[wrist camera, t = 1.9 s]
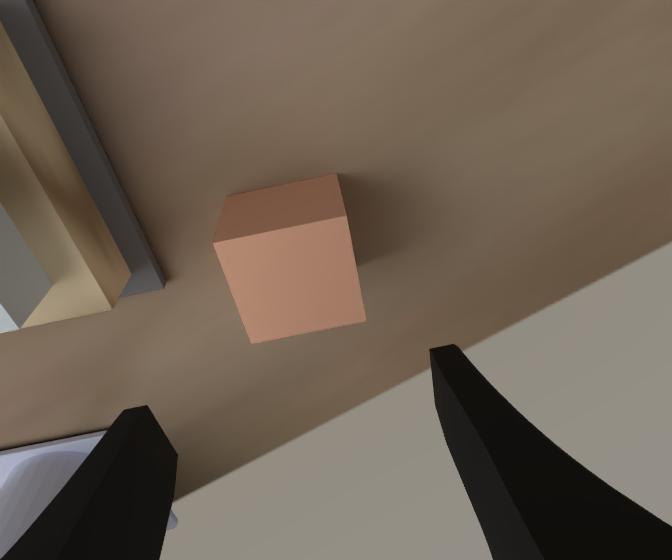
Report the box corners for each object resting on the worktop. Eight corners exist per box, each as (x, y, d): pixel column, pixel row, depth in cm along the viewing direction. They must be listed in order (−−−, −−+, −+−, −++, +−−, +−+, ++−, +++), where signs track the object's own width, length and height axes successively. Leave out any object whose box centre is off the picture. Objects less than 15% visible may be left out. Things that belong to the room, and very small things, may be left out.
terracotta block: (354, 266, 21) (366, 321, 18) (257, 285, 21) (251, 343, 18) (336, 172, 18) (346, 215, 15) (226, 195, 19) (212, 242, 15)
